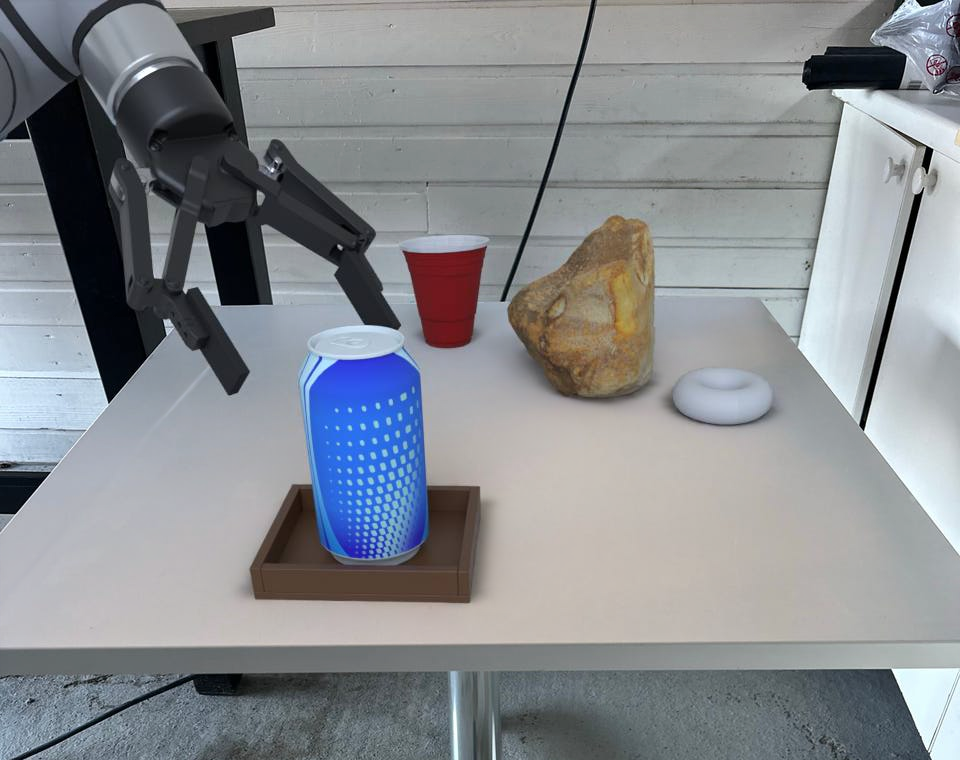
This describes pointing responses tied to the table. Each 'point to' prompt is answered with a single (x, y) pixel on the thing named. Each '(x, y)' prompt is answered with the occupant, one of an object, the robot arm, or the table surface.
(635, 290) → the rough brown rock
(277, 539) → the tray
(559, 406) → the table surface
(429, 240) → the plastic cup
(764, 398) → the donut
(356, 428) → the beer can
